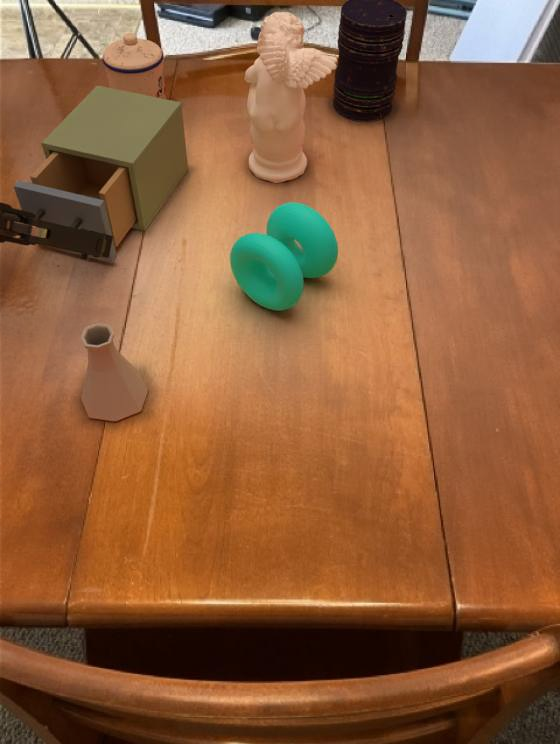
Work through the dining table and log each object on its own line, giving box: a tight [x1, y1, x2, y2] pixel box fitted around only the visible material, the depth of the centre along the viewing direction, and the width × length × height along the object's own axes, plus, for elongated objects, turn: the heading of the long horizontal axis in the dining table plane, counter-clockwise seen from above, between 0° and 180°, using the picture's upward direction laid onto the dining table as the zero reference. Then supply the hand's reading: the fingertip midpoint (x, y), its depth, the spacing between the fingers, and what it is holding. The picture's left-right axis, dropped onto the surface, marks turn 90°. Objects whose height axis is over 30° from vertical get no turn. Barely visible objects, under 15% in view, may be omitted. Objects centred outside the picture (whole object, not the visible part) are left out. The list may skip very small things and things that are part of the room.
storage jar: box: [332, 0, 408, 123], centre depth 105 cm, size 10×10×15 cm
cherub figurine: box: [244, 11, 338, 184], centre depth 91 cm, size 12×12×22 cm
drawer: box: [13, 151, 137, 264], centre depth 86 cm, size 18×11×9 cm, turn 161°
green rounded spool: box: [229, 201, 339, 311], centre depth 81 cm, size 10×10×10 cm
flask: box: [80, 322, 149, 422], centre depth 70 cm, size 7×7×10 cm
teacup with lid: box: [101, 32, 168, 100], centre depth 105 cm, size 12×9×12 cm
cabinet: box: [41, 85, 189, 232], centre depth 92 cm, size 15×13×11 cm
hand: (63, 235), depth 83 cm, fingers closed on drawer, 11 cm apart
